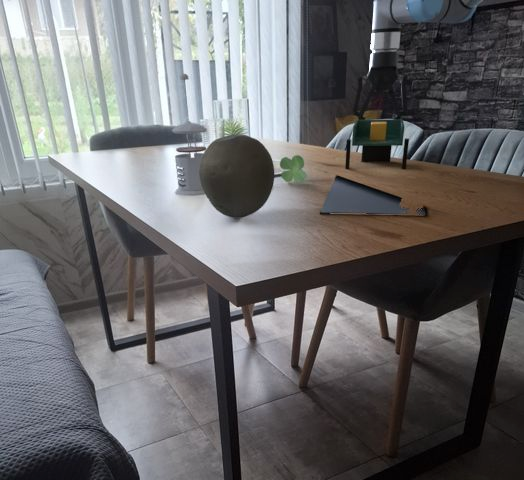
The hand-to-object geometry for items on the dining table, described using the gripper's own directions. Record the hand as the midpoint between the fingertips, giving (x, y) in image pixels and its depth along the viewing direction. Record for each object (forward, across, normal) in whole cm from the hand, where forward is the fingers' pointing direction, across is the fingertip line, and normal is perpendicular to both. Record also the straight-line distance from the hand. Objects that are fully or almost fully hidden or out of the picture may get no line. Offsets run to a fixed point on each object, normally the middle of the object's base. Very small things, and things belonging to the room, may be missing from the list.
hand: (377, 141), depth 143 cm
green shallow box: (-2, 0, +10) cm, 10 cm away
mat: (+6, 0, +43) cm, 43 cm away
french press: (+6, +43, +42) cm, 61 cm away
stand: (+6, 0, +15) cm, 16 cm away
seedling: (+6, +20, +28) cm, 35 cm away
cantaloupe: (+6, +25, +68) cm, 72 cm away
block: (-2, 0, +14) cm, 14 cm away
